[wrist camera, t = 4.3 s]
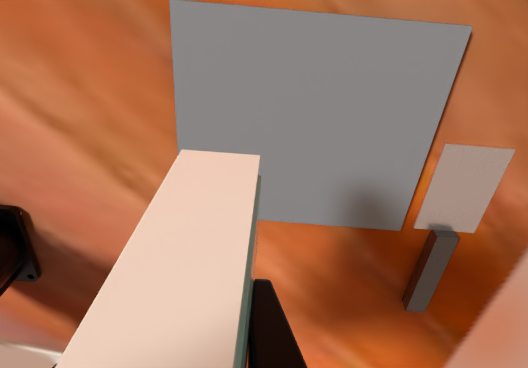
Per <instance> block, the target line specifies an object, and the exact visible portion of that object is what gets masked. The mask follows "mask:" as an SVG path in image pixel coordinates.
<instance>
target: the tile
mask: <svg viewBox="0 0 528 368" xmlns="http://www.w3.org/2000/svg"><path fill="white" fill-rule="evenodd" d="M259 165H260V155H250V154H236V153H223V152H209V151H196V150H181V151H180V153H179V155H178V157H177V158H176V160H175V162H174V163H173V165H172V167H171V169H170V170H169V172H168V174H167V176H166V177H165V179H164V181H163V182H162V184H161V186H160V188H159V189H158V191H157V193H156V194H155V196H154V198H153V200H152V201H151V203H150V205H149V207H148V208H147V210H146V212H145V213H144V215H143V217H142V219H141V220H140V222H139V224H138V225H137V227H136V229H135V231H134V232H133V234H132V236H131V238H130V239H129V241H128V243H127V244H126V246H125V248H124V250H123V251H122V253H121V255H120V256H119V258H118V260H117V262H116V263H115V265H114V267H113V268H112V270H111V272H110V274H109V275H108V277H107V279H106V281H105V282H104V284H103V286H102V287H101V289H100V291H99V293H98V294H97V296H96V298H95V299H94V301H93V303H92V305H91V306H90V308H89V310H88V312H87V313H86V315H85V317H84V318H83V320H82V322H81V324H80V325H79V327H78V329H77V330H76V332H75V334H74V336H73V337H72V339H71V341H70V343H69V344H68V346H67V348H66V349H65V351H64V353H63V355H62V356H61V358H60V360H59V361H58V363H57V365H56V367H55V368H247V366H248V348H249V331H250V314H251V304H252V295H253V285H254V280H255V271H256V255H257V239H258V223H259V207H260V192H261V175H259Z"/></svg>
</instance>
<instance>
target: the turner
mask: <svg viewBox="0 0 528 368" xmlns="http://www.w3.org/2000/svg"><path fill="white" fill-rule="evenodd" d="M515 150H516V149H514V148H509V147H497V146H485V145H473V144H461V143H449V142H443V145H442V148H441V151H440V153H439V156H438V159H437V161H436V164H435V167H434V169H433V172H432V175H431V177H430V180H429V183H428V185H427V188H426V191H425V193H424V196H423V199H422V201H421V204H420V207H419V209H418V212H417V215H416V217H415V220H414V223H413V225H412V226H413V228H416V229H429V230H431V231H430V233H429V236H428V238H427V240H426V243H425V245H424V248H423V250H422V253H421V255H420V257H419V260H418V262H417V265H416V267H415V270H414V272H413V274H412V277H411V279H410V282H409V284H408V287H407V289H406V291H405V294H404V296H403V299H402V302H403V305H404V307H405V310H406V311H417V312H425V310H426V308H427V306H428V304H429V302H430V300H431V298H432V296H433V293H434V291H435V289H436V287H437V285H438V283H439V281H440V279H441V277H442V274H443V272H444V270H445V268H446V266H447V264H448V262H449V260H450V257H451V255H452V253H453V251H454V249H455V247H456V245H457V243H458V241H459V237H458V236H457V234H456V233H455V232H467V233H474V232H475V230H476V228H477V226H478V224H479V222H480V220H481V218H482V216H483V214H484V212H485V210H486V208H487V206H488V204H489V202H490V200H491V198H492V196H493V194H494V192H495V190H496V188H497V186H498V184H499V182H500V180H501V178H502V176H503V174H504V172H505V170H506V168H507V166H508V164H509V162H510V160H511V158H512V156H513V154H514V152H515Z"/></svg>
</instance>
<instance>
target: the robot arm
mask: <svg viewBox="0 0 528 368" xmlns="http://www.w3.org/2000/svg"><path fill="white" fill-rule="evenodd" d="M9 213H10V214H9ZM40 276H41V272H40V269H39V266H38V263H37V261H36V258H35V255H34V252H33V249H32V246H31V243H30V241H29V238H28V235H27V232H26V229H25V226H24V223H23V221H22V218H21V215H20V212H19V211H18V209H16V208H15V207H13V206H6V205H0V296H1V295H2V294H3V293H4V292H5V291H6V290H7V288H8V287H9V286H10V285H11V284H12V283H13V281H14V280H17V281H30V282H35V281H37V280H38V279H39V277H40ZM56 365H57V364H56ZM56 365H54V366H53V367H52V368H55V367H56ZM247 368H307V366H306V363H305V361H304V359H303V356H302V354H301V351H300V349H299V347H298V344H297V342H296V340H295V337H294V335H293V333H292V330H291V328H290V325H289V323H288V321H287V318H286V316H285V314H284V311H283V309H282V307H281V304H280V302H279V300H278V297H277V295H276V292H275V290H274V288H273V285H272V283H271V281H270V280H267V279H255V280H254V285H253V295H252V304H251V314H250V331H249V348H248V366H247Z"/></svg>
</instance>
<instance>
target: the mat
mask: <svg viewBox="0 0 528 368" xmlns="http://www.w3.org/2000/svg"><path fill="white" fill-rule="evenodd" d="M169 2H170V20H171V38H172V56H173V74H174V92H175V110H176V128H177V146H178V155H179V153H180V151H181V150H196V151H209V152H223V153H236V154H250V155H260V165H259V175H261V192H260V207H259V220H267V221H280V222H292V223H305V224H318V225H330V226H343V227H356V228H368V229H381V230H394V231H400V230H401V227H402V225H403V222H404V219H405V216H406V213H407V211H408V208H409V205H410V202H411V199H412V197H413V194H414V191H415V188H416V185H417V182H418V180H419V177H420V174H421V171H422V168H423V166H424V163H425V160H426V157H427V154H428V151H429V149H430V146H431V143H432V140H433V137H434V135H435V132H436V129H437V126H438V123H439V121H440V118H441V115H442V112H443V109H444V106H445V104H446V101H447V98H448V95H449V92H450V90H451V87H452V84H453V81H454V78H455V75H456V73H457V70H458V67H459V64H460V61H461V59H462V56H463V53H464V50H465V47H466V44H467V42H468V39H469V36H470V33H471V30H472V28H473V27H472V26H468V25H459V24H448V23H436V22H425V21H414V20H403V19H391V18H380V17H369V16H358V15H346V14H335V13H324V12H313V11H302V10H290V9H279V8H268V7H257V6H245V5H234V4H223V3H212V2H201V1H189V0H169Z"/></svg>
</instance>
